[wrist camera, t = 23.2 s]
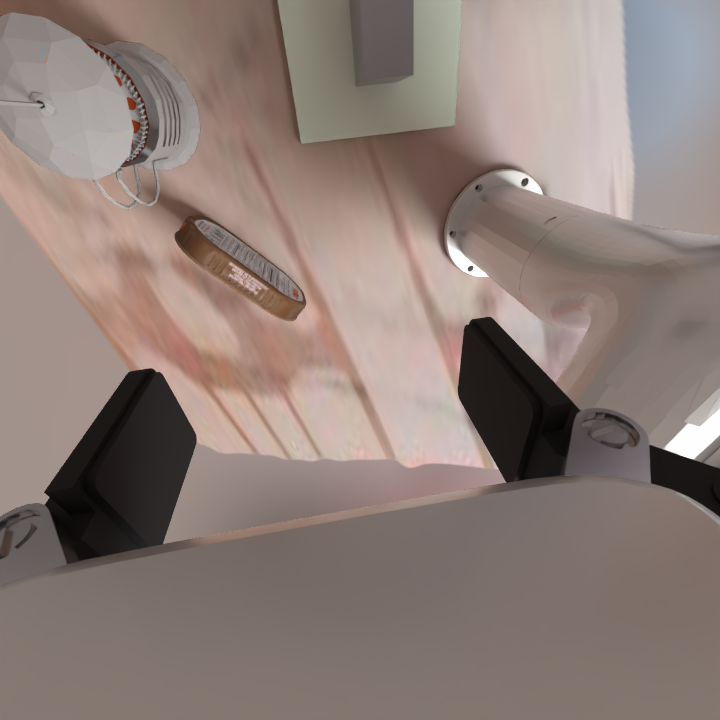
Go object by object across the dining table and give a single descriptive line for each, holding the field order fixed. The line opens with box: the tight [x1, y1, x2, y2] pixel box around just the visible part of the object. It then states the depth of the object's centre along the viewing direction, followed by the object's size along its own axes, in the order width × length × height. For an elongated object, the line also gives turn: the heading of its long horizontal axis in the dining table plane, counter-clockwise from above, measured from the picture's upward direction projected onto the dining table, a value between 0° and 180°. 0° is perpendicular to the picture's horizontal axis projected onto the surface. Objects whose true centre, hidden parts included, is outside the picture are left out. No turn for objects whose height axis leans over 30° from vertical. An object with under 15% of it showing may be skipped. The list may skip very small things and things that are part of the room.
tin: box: [175, 216, 306, 321], centre depth 37 cm, size 15×3×8 cm, turn 47°
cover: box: [277, 0, 462, 144], centre depth 28 cm, size 16×14×8 cm
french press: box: [0, 12, 201, 209], centre depth 22 cm, size 10×12×25 cm
